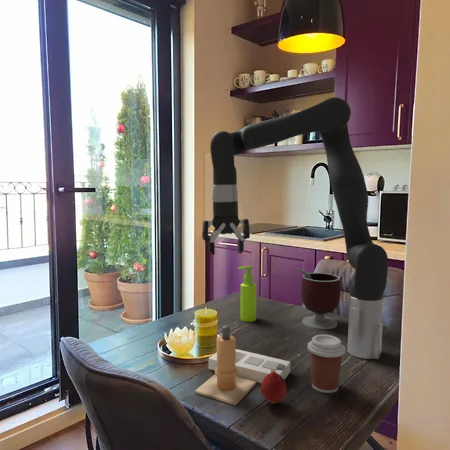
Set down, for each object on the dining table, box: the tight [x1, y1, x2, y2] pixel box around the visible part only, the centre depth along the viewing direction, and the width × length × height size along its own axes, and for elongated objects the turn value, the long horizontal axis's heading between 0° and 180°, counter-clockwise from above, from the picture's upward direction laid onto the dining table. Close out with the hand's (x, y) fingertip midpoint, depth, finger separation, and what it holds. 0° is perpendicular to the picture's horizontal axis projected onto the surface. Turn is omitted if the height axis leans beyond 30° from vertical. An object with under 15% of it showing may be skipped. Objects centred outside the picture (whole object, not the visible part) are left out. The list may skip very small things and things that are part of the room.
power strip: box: [208, 348, 291, 384], centre depth 105 cm, size 20×9×3 cm, turn 61°
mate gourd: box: [296, 267, 342, 330], centre depth 140 cm, size 16×14×20 cm
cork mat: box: [194, 373, 257, 406], centre depth 96 cm, size 11×11×1 cm
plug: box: [214, 324, 238, 391], centre depth 95 cm, size 6×6×15 cm
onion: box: [260, 370, 288, 405], centre depth 89 cm, size 6×6×8 cm
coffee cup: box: [306, 334, 346, 394], centre depth 96 cm, size 9×9×12 cm
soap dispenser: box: [237, 265, 257, 323], centre depth 144 cm, size 6×7×20 cm
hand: (226, 253), depth 118 cm, fingers open, 8 cm apart
